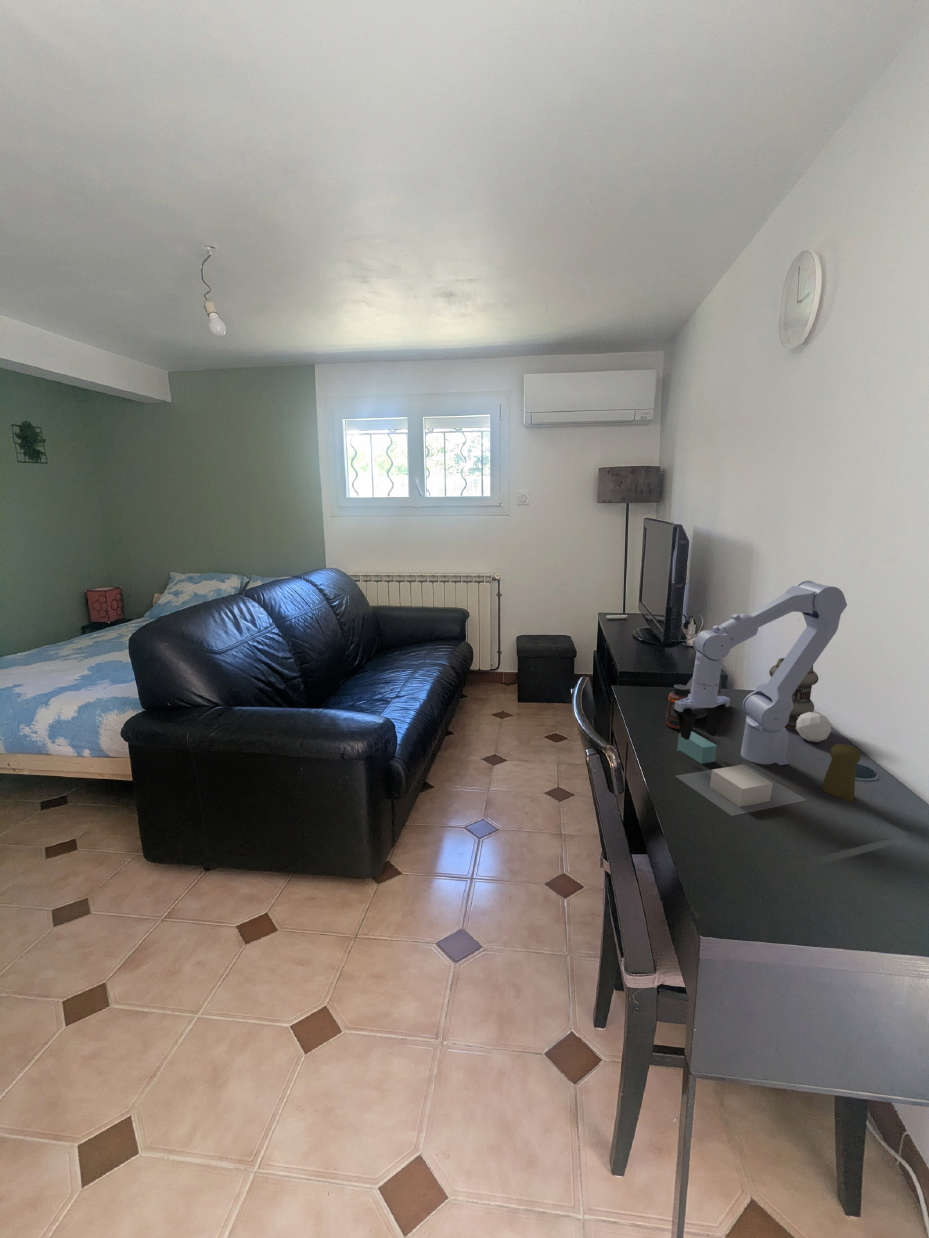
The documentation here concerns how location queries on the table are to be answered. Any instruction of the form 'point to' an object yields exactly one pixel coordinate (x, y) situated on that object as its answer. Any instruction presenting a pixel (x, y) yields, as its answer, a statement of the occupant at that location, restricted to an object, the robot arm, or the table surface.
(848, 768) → the cork
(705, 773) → the baseplate
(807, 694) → the apothecary jar
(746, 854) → the table surface
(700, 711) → the bluetooth speaker
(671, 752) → the table surface
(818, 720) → the geometric ball
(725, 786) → the base brick
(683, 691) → the supplement bottle
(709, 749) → the top brick
